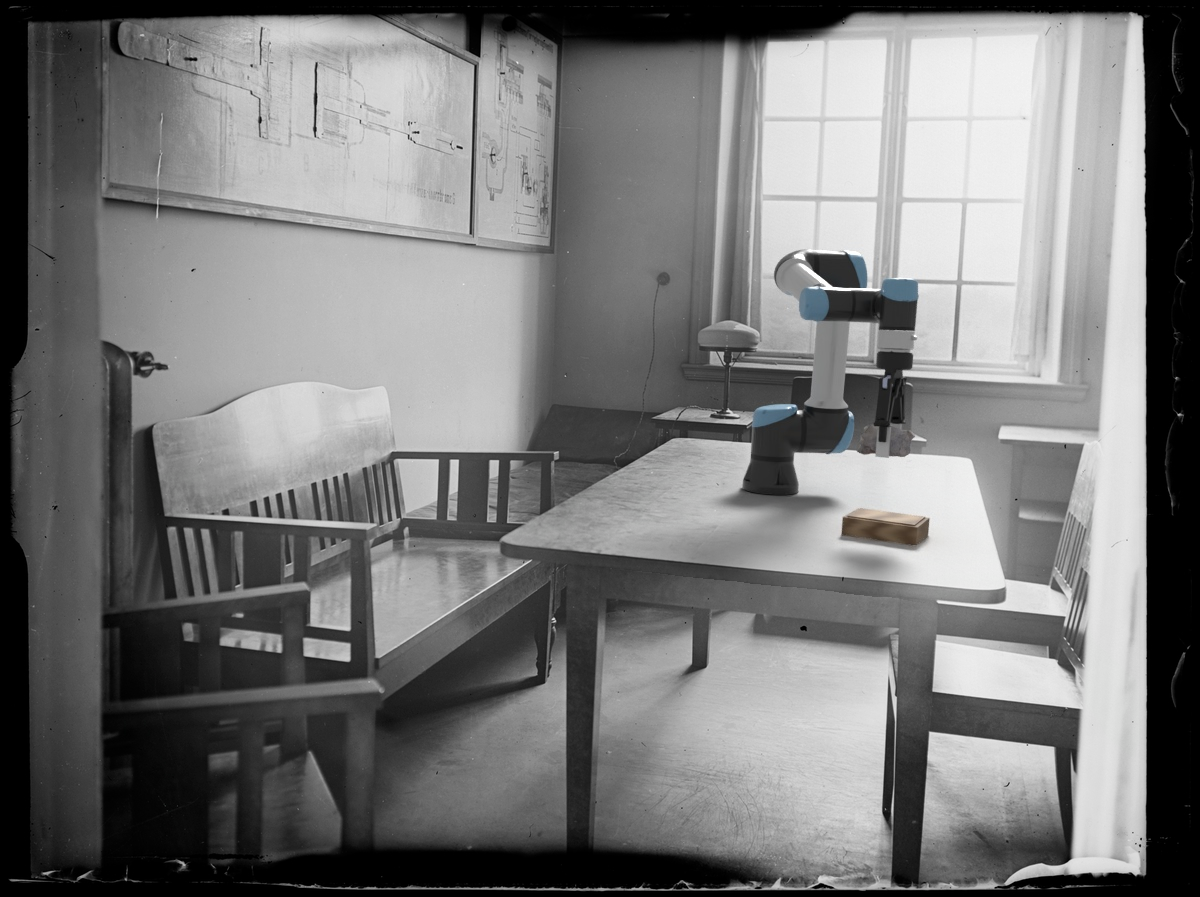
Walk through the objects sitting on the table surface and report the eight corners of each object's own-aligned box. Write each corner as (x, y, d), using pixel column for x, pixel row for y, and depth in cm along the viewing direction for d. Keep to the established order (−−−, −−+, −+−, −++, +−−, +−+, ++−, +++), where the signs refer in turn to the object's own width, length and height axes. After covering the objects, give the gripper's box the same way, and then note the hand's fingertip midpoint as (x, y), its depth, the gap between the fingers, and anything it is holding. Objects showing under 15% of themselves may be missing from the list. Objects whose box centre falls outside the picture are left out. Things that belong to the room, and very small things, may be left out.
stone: (906, 460, 203) (909, 428, 202) (852, 454, 210) (854, 423, 209) (918, 457, 210) (920, 426, 209) (865, 451, 217) (867, 421, 216)
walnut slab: (841, 534, 211) (842, 515, 210) (856, 525, 221) (858, 507, 220) (915, 545, 203) (917, 526, 202) (928, 535, 213) (929, 516, 212)
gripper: (900, 352, 196) (892, 461, 199) (924, 351, 214) (916, 451, 217) (864, 350, 200) (856, 458, 203) (890, 349, 218) (883, 448, 221)
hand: (887, 454), depth 210 cm, fingers closed on stone, 8 cm apart
